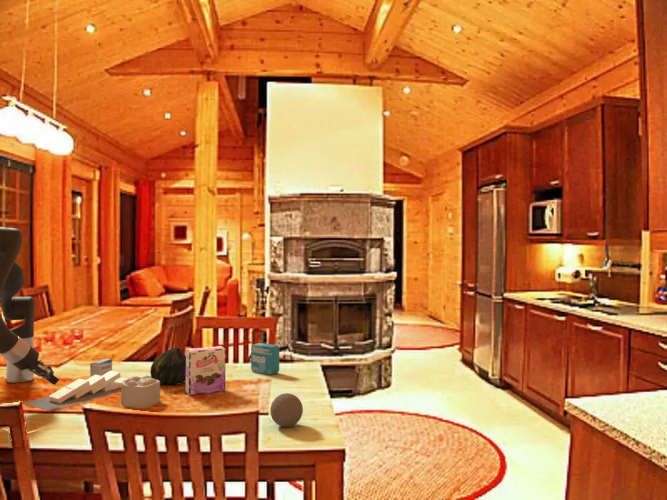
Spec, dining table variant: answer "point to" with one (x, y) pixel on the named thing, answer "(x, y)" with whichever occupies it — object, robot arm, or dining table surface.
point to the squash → (170, 367)
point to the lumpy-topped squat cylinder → (140, 392)
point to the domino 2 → (93, 382)
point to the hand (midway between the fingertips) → (55, 382)
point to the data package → (265, 358)
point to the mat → (69, 400)
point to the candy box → (205, 370)
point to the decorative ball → (286, 410)
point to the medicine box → (100, 367)
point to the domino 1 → (69, 390)
